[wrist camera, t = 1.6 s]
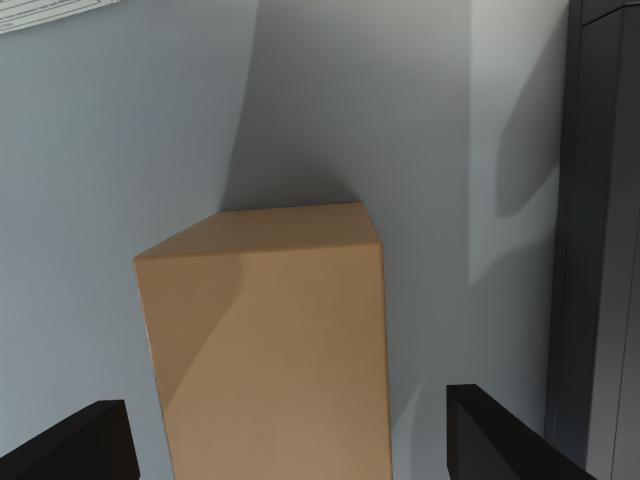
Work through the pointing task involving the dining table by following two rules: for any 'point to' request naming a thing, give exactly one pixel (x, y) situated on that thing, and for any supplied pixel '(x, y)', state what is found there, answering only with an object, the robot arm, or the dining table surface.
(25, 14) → the cosmetic box
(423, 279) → the dining table surface
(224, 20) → the dining table surface
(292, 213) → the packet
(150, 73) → the dining table surface
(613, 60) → the tray
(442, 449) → the dining table surface
